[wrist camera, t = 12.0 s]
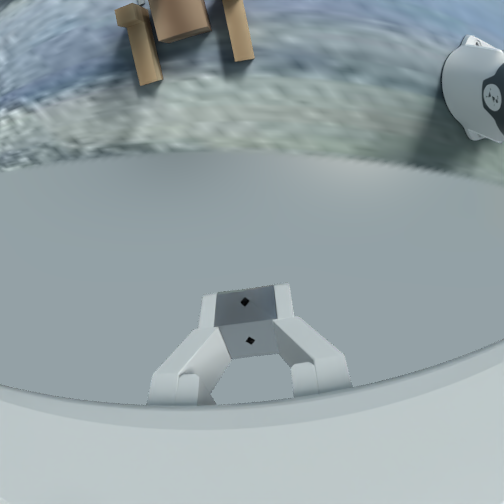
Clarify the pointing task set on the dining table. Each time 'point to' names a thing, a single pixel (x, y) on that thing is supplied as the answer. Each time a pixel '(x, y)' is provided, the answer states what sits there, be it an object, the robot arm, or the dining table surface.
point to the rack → (144, 42)
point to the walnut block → (179, 19)
